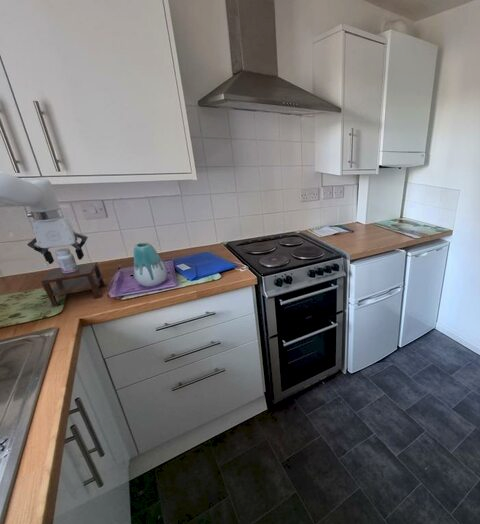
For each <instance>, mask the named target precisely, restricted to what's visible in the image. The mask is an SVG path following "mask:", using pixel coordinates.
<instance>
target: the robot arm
mask: <svg viewBox="0 0 480 524" xmlns="http://www.w3.org/2000/svg"><path fill="white" fill-rule="evenodd" d="M0 205H2V206H12V207H13V206H14V207H15V206H17V207H28V208H29V210H30V212H26V216H27V218H32V219H33V220H31V225H32V230H33V234H34V238H33V239H32V240H30V241H29V242H28V243H27V246H28V247H29V248H31V249H33V250H34V251H36V252H37V253H40V254H41V255H43V257H44V260H45V262H48V264H49V265H52V264H53V263H54V262H55V259H54V257H53V255H52V252H51V251H50V250H49V249H51V248H52V249H53V248H57V247H58V248H60V247H68V246H72V247H73V248H75V250H74V251H75V254H76V257H77V260H79V261H81V260H82V259H83V258H84V255H85V254H84V252H83V251H84V250H83V249H82V248H83V246H84V245H85V244H86V242H87V240H88V237H89V236H87V235H84V234H82V233H79V232H77V231H75V229H74V227H73V226H72V225H73V224H72V223H71V222H70V220H69V219H68V217H67V216H64V214H63V210H62V208H61V205H60V204H59V200H58V198H57V196H56V192H55V190H54V188H53V185H52V183H51V181H50V180H49V179H47V178H40V177H39V178H38V177H37V178H26V179H22V178H20V177H18V176H16V175H12V174H10V173H7V172H5V171H1V170H0ZM78 239H81V240H80V242H78Z"/></svg>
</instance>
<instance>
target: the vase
mask: <svg viewBox="0 0 480 524" xmlns="http://www.w3.org/2000/svg"><path fill="white" fill-rule="evenodd" d="M133 276H134V279H135V281H136V282H137V283H138V284H139V285H140V286H142V287H146V288H152V287H156V286H160V285H162V284H163V283H164V282H165V281H166V279H167V278H168V269H167V266H166V265H165V263H164V261H163V260H162V258H161V257H160V255H159V253H158V252H157V250H156V248H155V247H154V246H153V244H151V243H149V242H138V243H136V244H135V246H134V248H133Z"/></svg>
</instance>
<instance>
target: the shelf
mask: <svg viewBox="0 0 480 524" xmlns="http://www.w3.org/2000/svg"><path fill="white" fill-rule="evenodd" d="M77 266H78V270H77V271H75V272H71V273H63V272H62V271H61V268H60V267H55V268H51V269H50V270H49V271H48V273H46V275H45V276H44V277H43V278H42V279H41V280H40V282H41V284H42V287H43V288H44V291H45V293H46V295H47V298H48V299H49V302H50V304H51V306H52V307H58V306H59V302H58V300H57V296H63V295H67V294H72V293H73V294H74V293H78V292H84V291H89V290H91V291H92V294H93V296H94V299H99V298H101V294H100V291H99V288H98V286H99V287H100V288H102V287H103V288H104V287H105V286H106V283H105V281H104V278H103V275H102V272H101V270H100V267H99V264H98V262H97V261H94V262H86V263H81V264H80V263H79V264H77ZM93 274H94V275H93ZM50 283H55V284H54V285H53V286H52V285H51V284H50Z"/></svg>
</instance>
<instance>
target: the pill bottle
mask: <svg viewBox="0 0 480 524" xmlns="http://www.w3.org/2000/svg"><path fill="white" fill-rule="evenodd" d="M54 252H55V255H56V257H55V259H56V261H57V263H58V266H59V268H61V271H62V272H63V273H71V272H75V271H77V270H78V266H77V265H78V264H77V262H76V259H75V256H74V254H73V253H71V249H70V248H60V249H57V250H55V251H54Z"/></svg>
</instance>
